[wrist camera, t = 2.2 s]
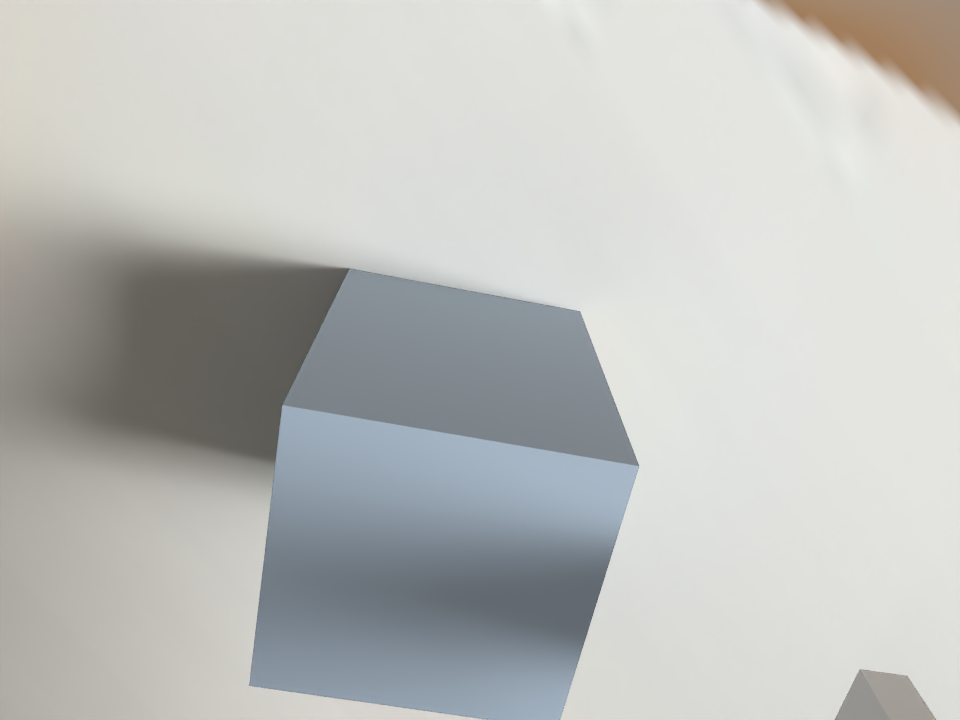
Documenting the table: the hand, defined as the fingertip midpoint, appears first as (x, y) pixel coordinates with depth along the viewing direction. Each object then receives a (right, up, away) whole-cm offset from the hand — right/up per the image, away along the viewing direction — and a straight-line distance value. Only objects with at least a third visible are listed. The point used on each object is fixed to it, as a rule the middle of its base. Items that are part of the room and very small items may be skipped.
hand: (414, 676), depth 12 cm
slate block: (0, +4, +10) cm, 11 cm away
